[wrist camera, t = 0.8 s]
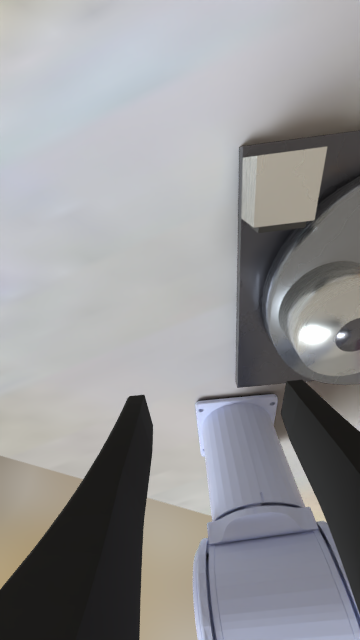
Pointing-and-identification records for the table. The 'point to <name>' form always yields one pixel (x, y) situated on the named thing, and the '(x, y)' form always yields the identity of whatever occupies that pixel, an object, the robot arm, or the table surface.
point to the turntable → (313, 266)
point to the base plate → (279, 231)
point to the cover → (325, 318)
